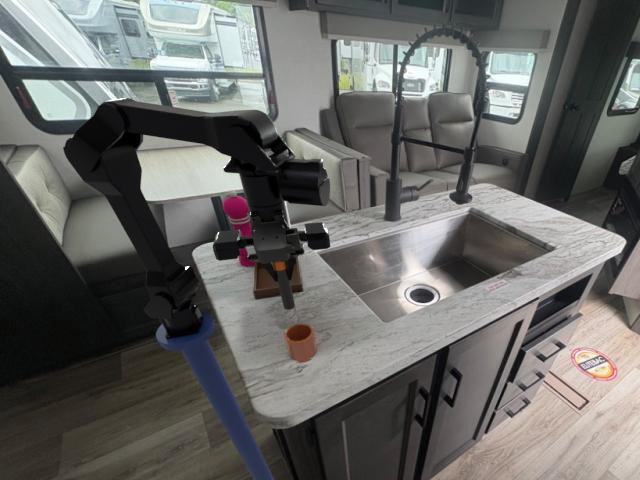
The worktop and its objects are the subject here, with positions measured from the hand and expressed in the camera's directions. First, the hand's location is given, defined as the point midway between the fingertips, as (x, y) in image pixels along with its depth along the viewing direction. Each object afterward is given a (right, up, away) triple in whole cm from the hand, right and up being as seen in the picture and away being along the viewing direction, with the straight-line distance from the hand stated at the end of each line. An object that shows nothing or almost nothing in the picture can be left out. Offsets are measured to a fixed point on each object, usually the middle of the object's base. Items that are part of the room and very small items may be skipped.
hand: (283, 280), depth 62 cm
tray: (-9, +1, +22) cm, 24 cm away
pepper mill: (-20, +7, +30) cm, 36 cm away
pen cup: (+3, -14, +2) cm, 15 cm away
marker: (0, -5, +4) cm, 6 cm away
